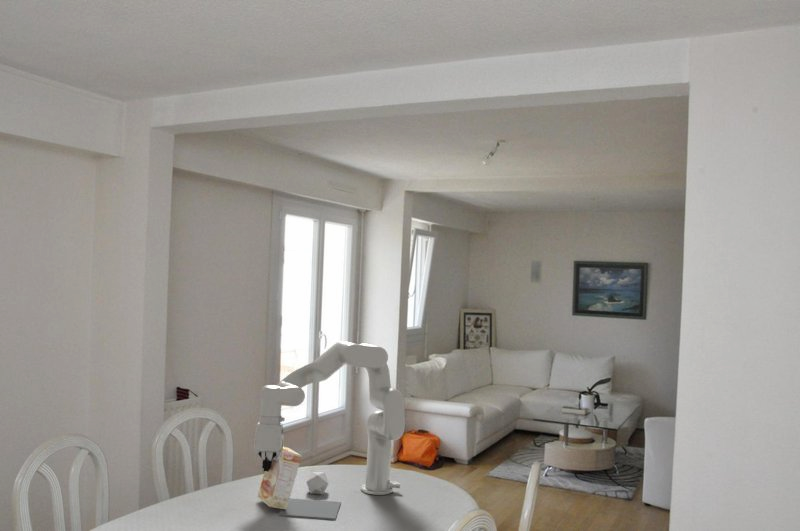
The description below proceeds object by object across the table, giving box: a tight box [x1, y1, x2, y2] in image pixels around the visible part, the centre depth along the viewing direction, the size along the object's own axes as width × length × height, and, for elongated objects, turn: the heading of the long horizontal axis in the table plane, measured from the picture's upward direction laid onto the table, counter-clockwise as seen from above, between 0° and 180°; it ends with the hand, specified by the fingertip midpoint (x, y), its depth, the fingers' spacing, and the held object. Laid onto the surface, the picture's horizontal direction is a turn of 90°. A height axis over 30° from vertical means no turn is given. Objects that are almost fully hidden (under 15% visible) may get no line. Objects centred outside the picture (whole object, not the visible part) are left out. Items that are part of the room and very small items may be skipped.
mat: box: [278, 497, 342, 521], centre depth 255 cm, size 20×18×1 cm
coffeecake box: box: [257, 446, 303, 510], centre depth 257 cm, size 15×7×20 cm, turn 27°
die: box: [306, 471, 329, 495], centre depth 275 cm, size 8×9×10 cm
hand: (266, 470), depth 256 cm, fingers closed
